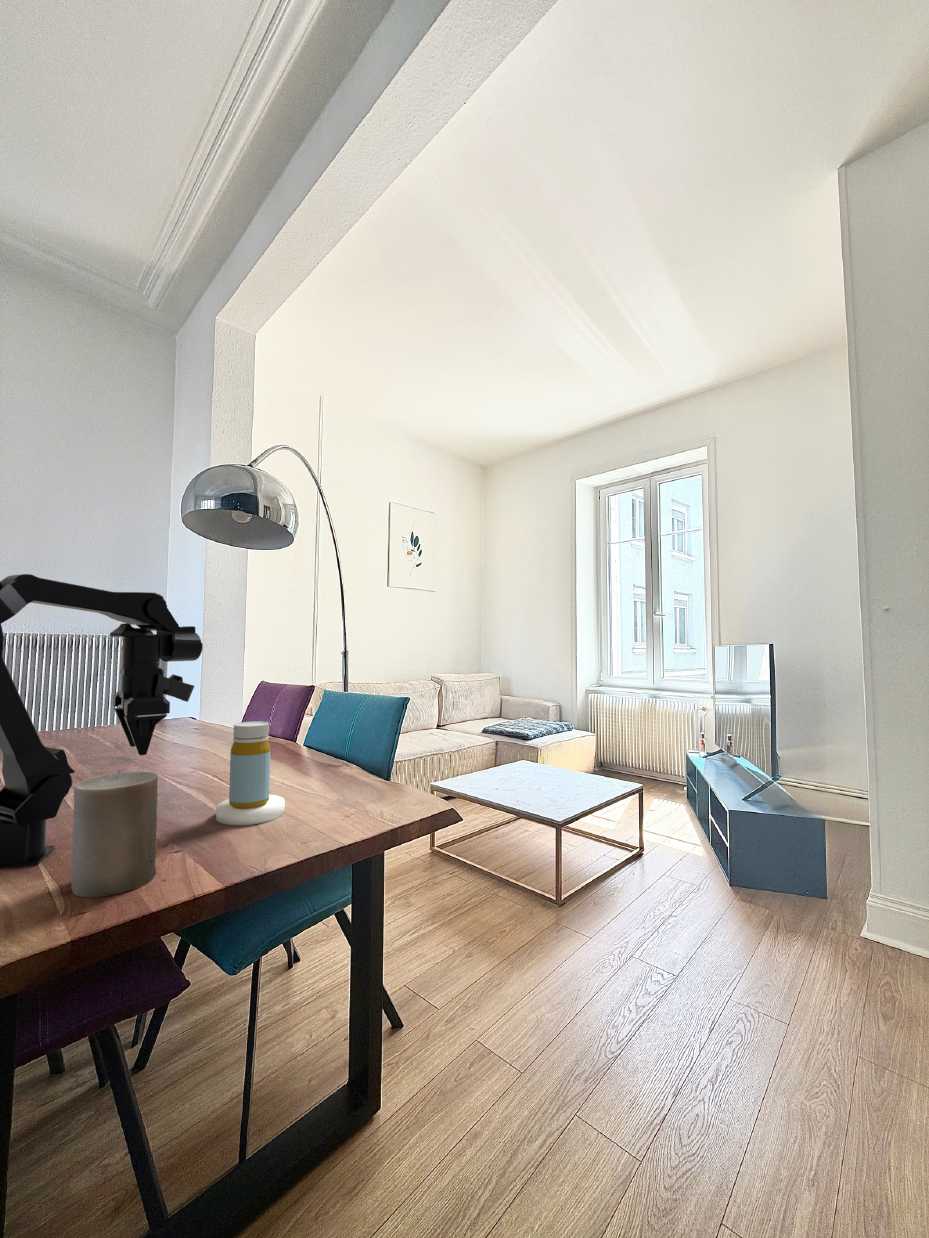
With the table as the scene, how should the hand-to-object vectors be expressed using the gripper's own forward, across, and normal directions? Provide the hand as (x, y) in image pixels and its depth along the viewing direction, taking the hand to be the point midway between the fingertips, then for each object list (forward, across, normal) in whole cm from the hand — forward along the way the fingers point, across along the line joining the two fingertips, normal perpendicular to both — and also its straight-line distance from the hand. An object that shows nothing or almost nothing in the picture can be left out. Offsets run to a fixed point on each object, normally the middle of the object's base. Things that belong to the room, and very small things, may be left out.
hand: (138, 750), depth 94 cm
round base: (+13, -7, -18) cm, 23 cm away
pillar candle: (+13, -24, +6) cm, 28 cm away
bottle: (+11, -7, -17) cm, 22 cm away
